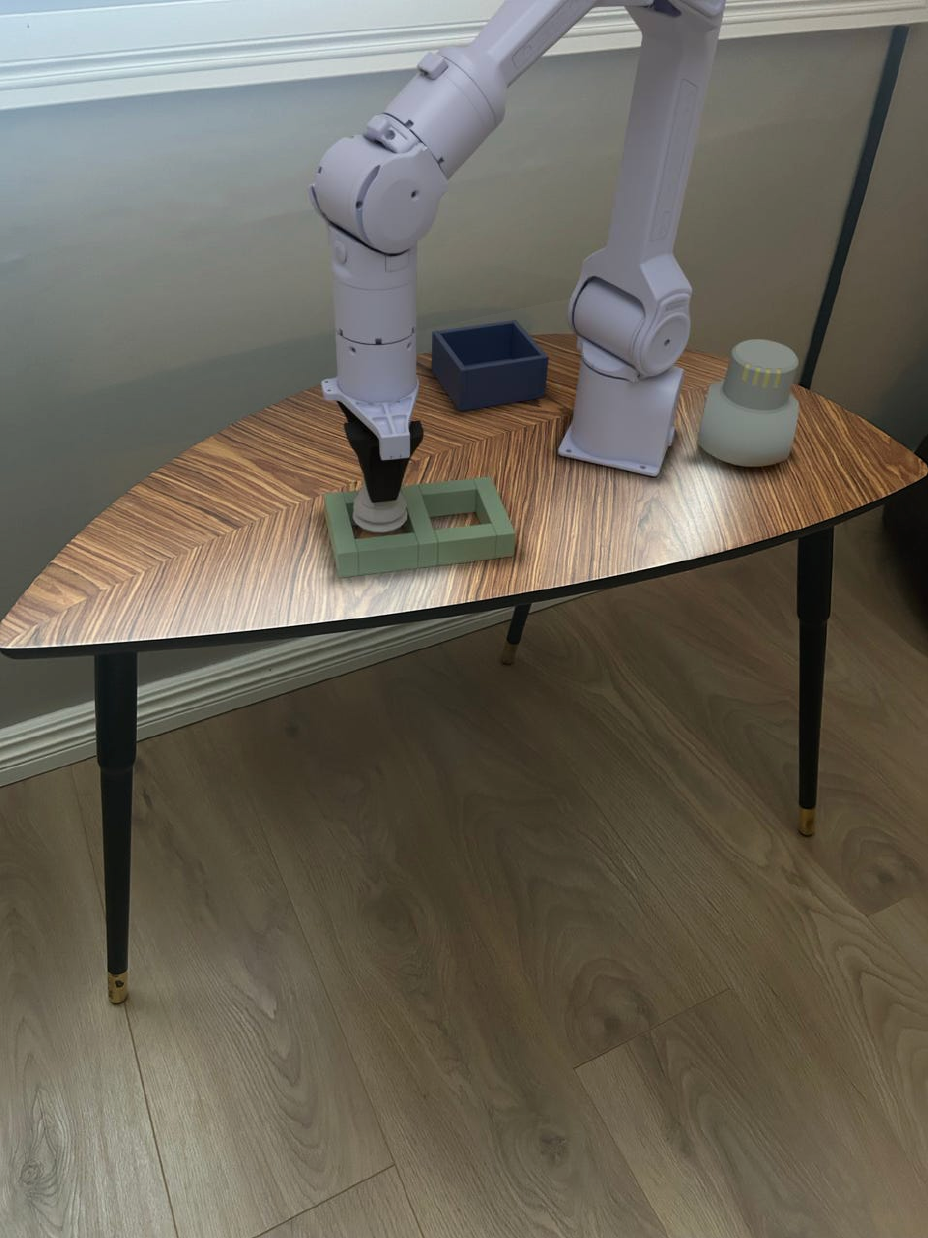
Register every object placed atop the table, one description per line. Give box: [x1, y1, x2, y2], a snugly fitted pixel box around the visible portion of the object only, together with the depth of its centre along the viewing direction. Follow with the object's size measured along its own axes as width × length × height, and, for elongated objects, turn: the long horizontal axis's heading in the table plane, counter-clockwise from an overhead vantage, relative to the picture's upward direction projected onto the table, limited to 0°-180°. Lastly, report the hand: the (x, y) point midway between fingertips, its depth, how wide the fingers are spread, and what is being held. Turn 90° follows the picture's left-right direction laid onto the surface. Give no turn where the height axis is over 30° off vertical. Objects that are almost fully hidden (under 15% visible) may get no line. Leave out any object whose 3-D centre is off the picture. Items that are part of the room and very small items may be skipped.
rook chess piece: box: [353, 465, 407, 535], centre depth 79 cm, size 4×4×8 cm
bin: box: [431, 319, 550, 412], centre depth 101 cm, size 9×8×4 cm
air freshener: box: [696, 338, 800, 468], centre depth 92 cm, size 11×8×10 cm
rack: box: [323, 476, 516, 579], centre depth 83 cm, size 14×8×2 cm, turn 104°
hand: (379, 485), depth 79 cm, fingers closed on rook chess piece, 3 cm apart
